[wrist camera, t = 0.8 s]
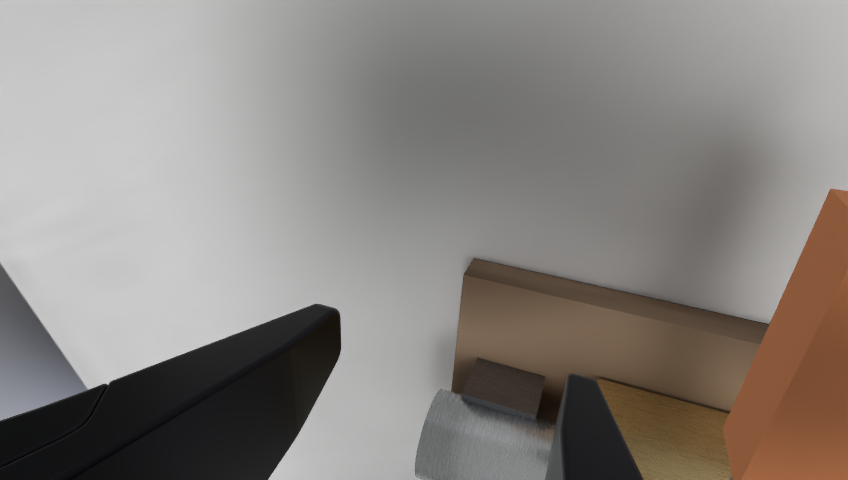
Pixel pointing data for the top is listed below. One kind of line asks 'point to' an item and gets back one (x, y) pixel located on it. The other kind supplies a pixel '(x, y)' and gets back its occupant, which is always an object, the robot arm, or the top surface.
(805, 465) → the lever
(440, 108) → the top surface
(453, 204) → the top surface
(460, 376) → the valve base
